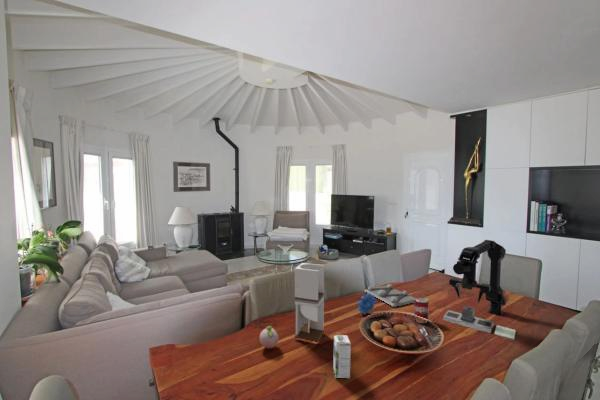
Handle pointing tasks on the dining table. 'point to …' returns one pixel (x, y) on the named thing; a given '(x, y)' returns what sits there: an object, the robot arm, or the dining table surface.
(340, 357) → the syrup box
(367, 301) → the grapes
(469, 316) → the steel block
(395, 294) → the grey ridged tray
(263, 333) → the decorative fruit
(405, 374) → the dining table surface
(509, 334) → the sage pad
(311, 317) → the white dispenser tower
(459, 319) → the rail plate
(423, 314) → the soda can
